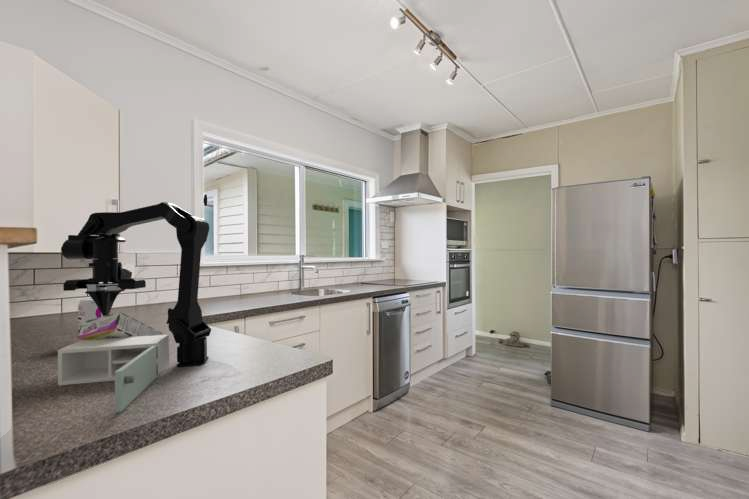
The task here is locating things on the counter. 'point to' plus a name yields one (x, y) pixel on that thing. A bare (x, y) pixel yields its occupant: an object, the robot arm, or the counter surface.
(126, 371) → the door
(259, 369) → the counter surface
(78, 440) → the counter surface
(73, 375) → the cupboard
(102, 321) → the candy bar box
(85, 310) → the supplement can
